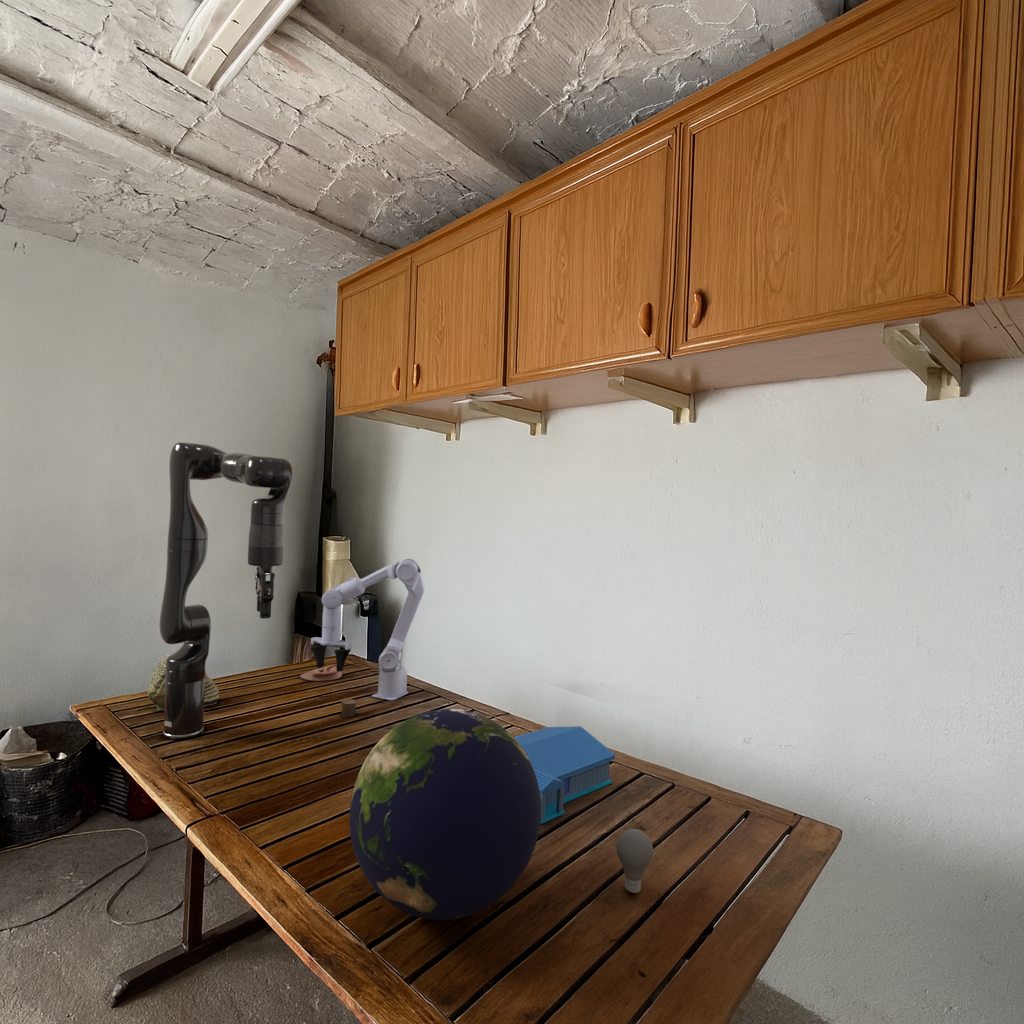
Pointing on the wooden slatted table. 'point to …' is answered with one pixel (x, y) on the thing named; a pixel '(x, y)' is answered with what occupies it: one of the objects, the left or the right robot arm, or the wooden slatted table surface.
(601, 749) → the model building
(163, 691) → the fossil
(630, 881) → the light bulb
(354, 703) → the can
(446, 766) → the globe
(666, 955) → the wooden slatted table surface
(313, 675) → the anatomical model
